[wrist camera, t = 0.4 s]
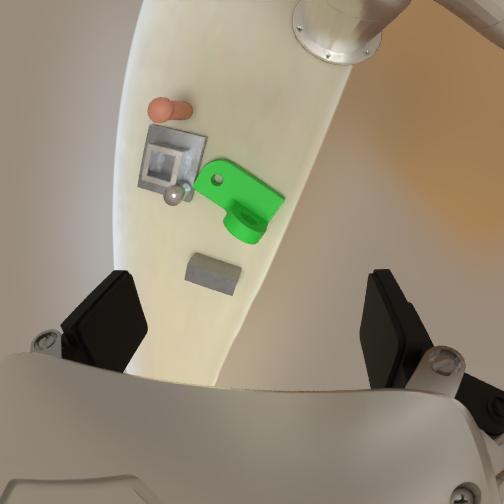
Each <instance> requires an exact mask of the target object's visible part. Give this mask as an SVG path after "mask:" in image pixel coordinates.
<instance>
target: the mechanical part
mask: <svg viewBox="0 0 504 504" xmlns="http://www.w3.org/2000/svg"><path fill="white" fill-rule="evenodd" d="M215 174H219V175H221V176H222V177H223V183H222V184H219V183H217V182H215V180H214V175H215ZM192 188H193V189H195V190H196V191H198V192H200V193H201V194H203V195H204V196H206V197H207V198H209V199H210V200H212V201H213V202H215V203H216V204H218V205H219V206H221V207H222V208H224V209H225V210H226V212H227V215H226V217H225V218H224V220H223V222H224V225H225V227H226V228H227V230H228V231H229V232H230V233H231V234H232V235H233V236H235V237H236V238H238V239H239V240H241V241H243V242H245V243H248V244H256V243H257V242H258V241H259V240H260V238H261V237H262V236H263V235H264V233H265V232H266V229H267V225H268V222H269V221H270V219H271V218H272V217H273V215H274V214H275V213H276V211H277V210H278V209H279V207H280V206H281V205H282V203H283V202H284V200H285V197H283V196H282V195H280V194H279V193H277V192H276V191H275V190H273V189H272V188H270V187H269V186H267V185H266V184H264V183H263V182H261V181H260V180H259V179H257V178H256V177H254V176H253V175H251V174H250V173H248V172H247V171H245V170H244V169H242V168H241V167H239V166H238V165H236V164H235V163H233V162H231V161H229V160H225V159H218V160H215V161H212V162H211V163H209V164H207V165H206V166H205V167H204V168H203V169H202V171H201V172H200V174H199V176H198V177H197V179H196V181H195V182H194V184H193V186H192Z"/></svg>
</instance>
